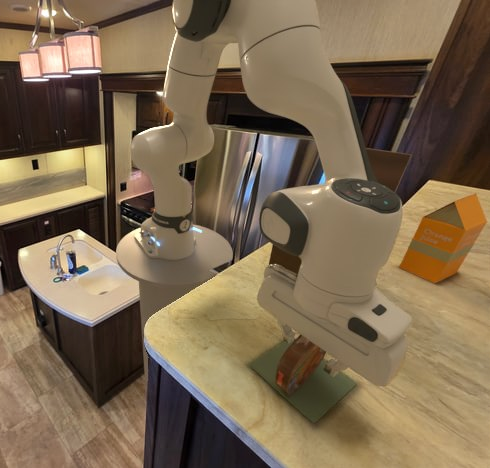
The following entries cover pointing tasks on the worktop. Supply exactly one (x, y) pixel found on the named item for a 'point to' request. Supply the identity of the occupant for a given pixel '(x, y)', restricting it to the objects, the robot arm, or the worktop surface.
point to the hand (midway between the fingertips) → (307, 354)
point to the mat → (306, 384)
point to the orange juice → (444, 239)
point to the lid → (388, 166)
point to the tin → (297, 364)
